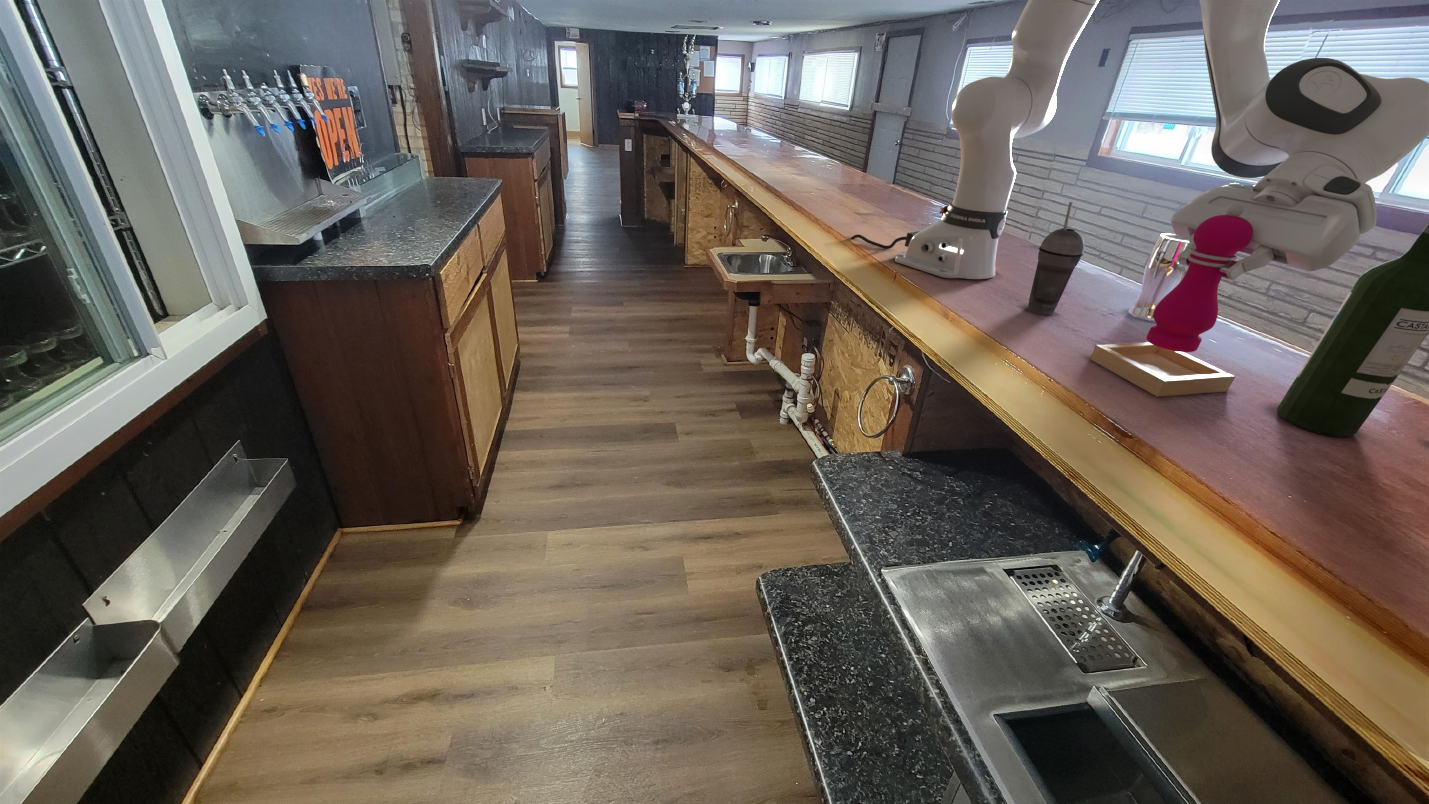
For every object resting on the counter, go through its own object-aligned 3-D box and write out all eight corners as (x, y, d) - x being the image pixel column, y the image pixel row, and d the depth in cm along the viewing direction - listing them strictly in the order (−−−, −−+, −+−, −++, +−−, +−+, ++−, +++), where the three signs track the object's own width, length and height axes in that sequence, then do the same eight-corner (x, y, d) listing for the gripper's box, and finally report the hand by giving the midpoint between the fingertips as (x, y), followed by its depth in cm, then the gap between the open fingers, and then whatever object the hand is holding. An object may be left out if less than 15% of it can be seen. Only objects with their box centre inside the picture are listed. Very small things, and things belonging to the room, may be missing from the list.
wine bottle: (1344, 444, 70) (1527, 191, 55) (1266, 415, 76) (1412, 179, 61) (1363, 428, 74) (1539, 187, 59) (1287, 401, 80) (1429, 176, 65)
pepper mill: (1203, 344, 84) (1275, 204, 74) (1197, 358, 79) (1272, 211, 69) (1146, 330, 88) (1207, 196, 78) (1137, 343, 83) (1200, 202, 73)
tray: (1089, 359, 90) (1095, 344, 89) (1153, 355, 92) (1160, 341, 91) (1157, 397, 79) (1165, 381, 78) (1227, 391, 82) (1235, 376, 81)
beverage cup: (1045, 319, 105) (1084, 208, 95) (1011, 307, 110) (1045, 200, 100) (1069, 314, 108) (1110, 206, 98) (1035, 302, 113) (1070, 198, 103)
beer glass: (1155, 311, 112) (1190, 234, 104) (1176, 324, 106) (1215, 244, 98) (1118, 308, 112) (1150, 232, 105) (1137, 321, 106) (1173, 241, 99)
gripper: (1216, 165, 82) (1133, 234, 85) (1388, 189, 65) (1275, 275, 67) (1226, 197, 85) (1145, 263, 88) (1392, 229, 68) (1284, 309, 71)
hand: (1203, 268), depth 77 cm, fingers closed on pepper mill, 5 cm apart
